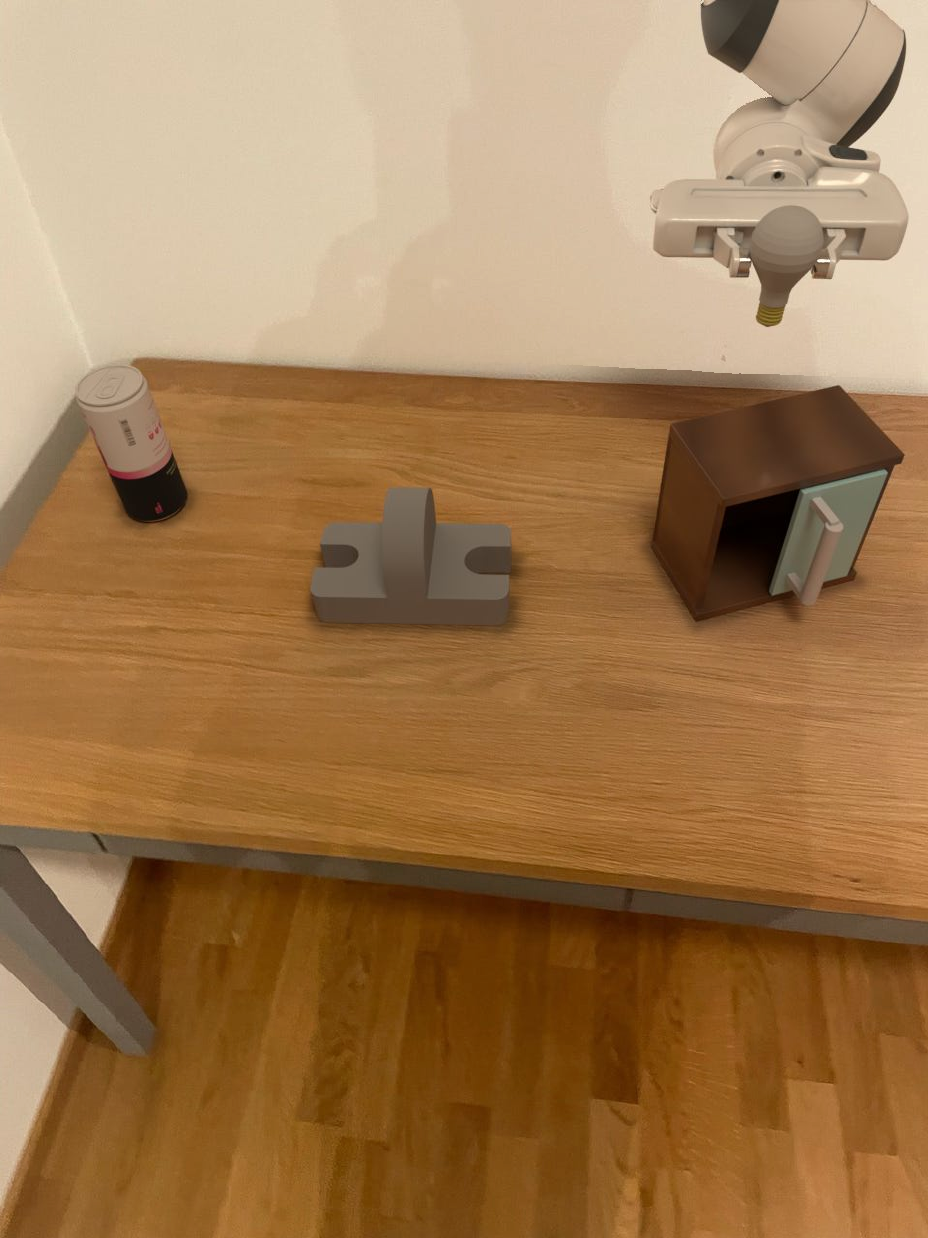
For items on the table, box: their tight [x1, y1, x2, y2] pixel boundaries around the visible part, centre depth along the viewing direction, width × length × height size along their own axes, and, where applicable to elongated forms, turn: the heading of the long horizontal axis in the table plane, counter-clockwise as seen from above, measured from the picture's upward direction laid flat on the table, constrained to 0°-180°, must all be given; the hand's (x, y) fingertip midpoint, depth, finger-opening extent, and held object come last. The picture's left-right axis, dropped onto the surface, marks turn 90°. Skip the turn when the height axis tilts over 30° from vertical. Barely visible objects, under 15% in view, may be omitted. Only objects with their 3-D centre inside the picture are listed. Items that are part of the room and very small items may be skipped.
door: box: [769, 469, 888, 607], centre depth 78 cm, size 8×4×12 cm, turn 106°
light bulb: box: [750, 205, 824, 328], centre depth 74 cm, size 6×5×10 cm
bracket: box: [309, 486, 512, 627], centre depth 84 cm, size 10×18×11 cm, turn 86°
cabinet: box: [650, 384, 906, 622], centre depth 82 cm, size 16×10×15 cm, turn 106°
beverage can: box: [74, 363, 188, 523], centre depth 92 cm, size 6×7×15 cm
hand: (783, 270), depth 73 cm, fingers closed on light bulb, 5 cm apart
